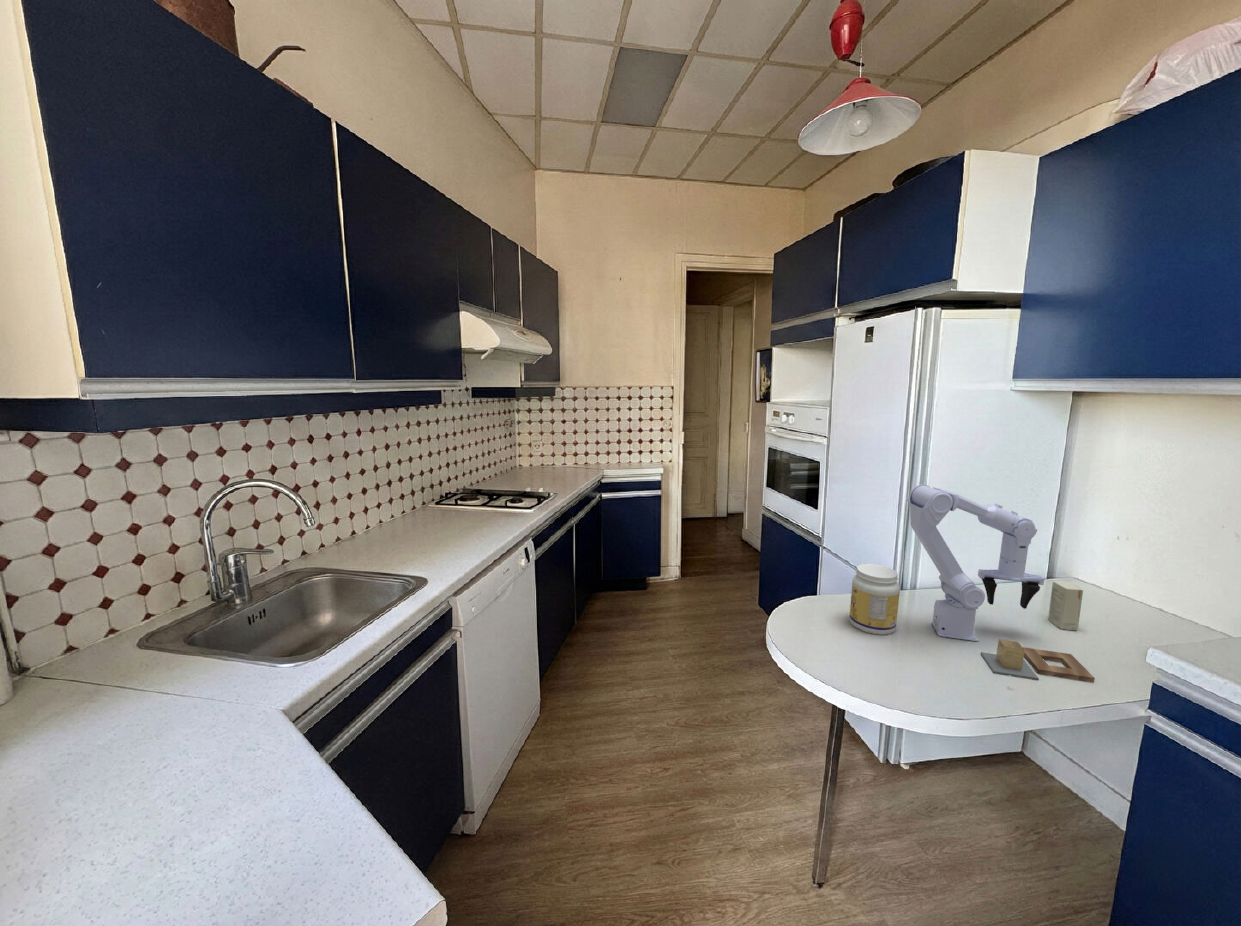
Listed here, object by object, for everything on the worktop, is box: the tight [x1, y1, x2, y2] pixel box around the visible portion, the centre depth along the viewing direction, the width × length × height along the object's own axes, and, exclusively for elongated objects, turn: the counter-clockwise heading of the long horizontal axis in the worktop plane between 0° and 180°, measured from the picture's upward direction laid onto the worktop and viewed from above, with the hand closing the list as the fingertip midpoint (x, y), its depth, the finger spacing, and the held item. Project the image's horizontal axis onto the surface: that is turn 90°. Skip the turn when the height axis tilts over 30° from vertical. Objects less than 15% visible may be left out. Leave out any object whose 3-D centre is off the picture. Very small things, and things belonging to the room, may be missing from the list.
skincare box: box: [1047, 580, 1084, 631], centre depth 143 cm, size 6×4×12 cm
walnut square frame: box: [1022, 646, 1096, 683], centre depth 124 cm, size 11×11×1 cm
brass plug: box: [996, 638, 1025, 671], centre depth 123 cm, size 4×4×6 cm
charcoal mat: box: [980, 651, 1039, 681], centre depth 123 cm, size 9×9×1 cm
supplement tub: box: [849, 563, 901, 635], centre depth 143 cm, size 12×12×17 cm
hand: (1006, 605), depth 138 cm, fingers open, 7 cm apart
